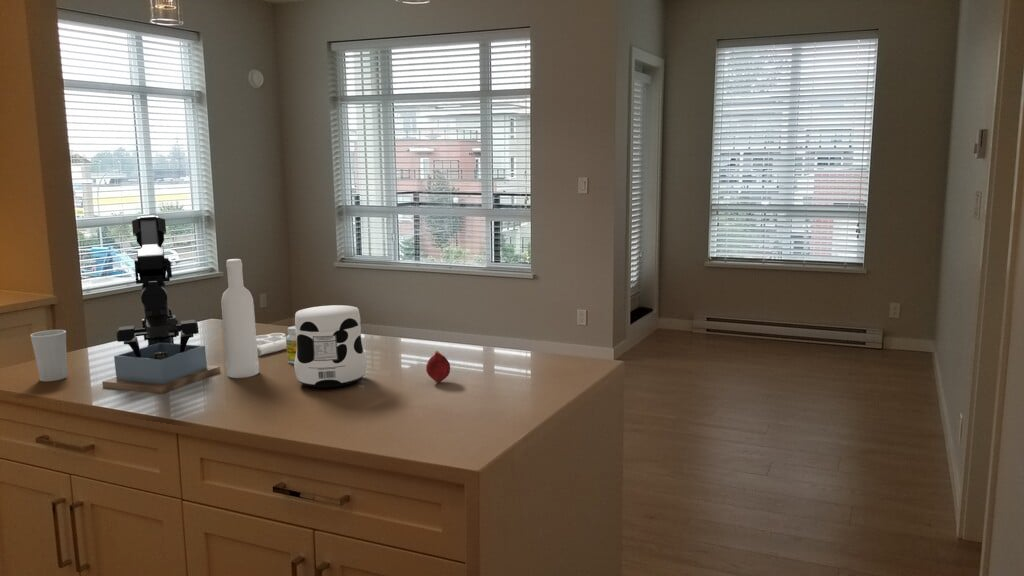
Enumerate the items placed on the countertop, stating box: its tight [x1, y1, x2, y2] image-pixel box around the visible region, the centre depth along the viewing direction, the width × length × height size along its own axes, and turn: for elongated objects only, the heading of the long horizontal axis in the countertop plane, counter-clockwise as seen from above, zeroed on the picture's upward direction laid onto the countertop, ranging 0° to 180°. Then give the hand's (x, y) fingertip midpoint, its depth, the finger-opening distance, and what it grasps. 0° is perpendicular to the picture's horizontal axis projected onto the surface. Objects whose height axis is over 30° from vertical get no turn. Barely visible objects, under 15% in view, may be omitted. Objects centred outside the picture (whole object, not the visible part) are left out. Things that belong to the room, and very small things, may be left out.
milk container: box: [293, 304, 367, 388], centre depth 194 cm, size 17×17×18 cm
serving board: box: [101, 364, 221, 394], centre depth 201 cm, size 20×19×2 cm
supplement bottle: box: [286, 325, 297, 365], centre depth 216 cm, size 5×5×10 cm
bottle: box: [220, 258, 260, 379], centre depth 202 cm, size 8×8×30 cm
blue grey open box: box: [113, 343, 208, 384], centre depth 201 cm, size 15×17×6 cm
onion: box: [425, 350, 451, 384], centre depth 192 cm, size 6×6×8 cm
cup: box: [30, 329, 69, 382], centre depth 205 cm, size 8×8×12 cm
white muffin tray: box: [256, 332, 287, 357], centre depth 231 cm, size 3×18×15 cm
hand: (161, 363), depth 201 cm, fingers open, 9 cm apart
